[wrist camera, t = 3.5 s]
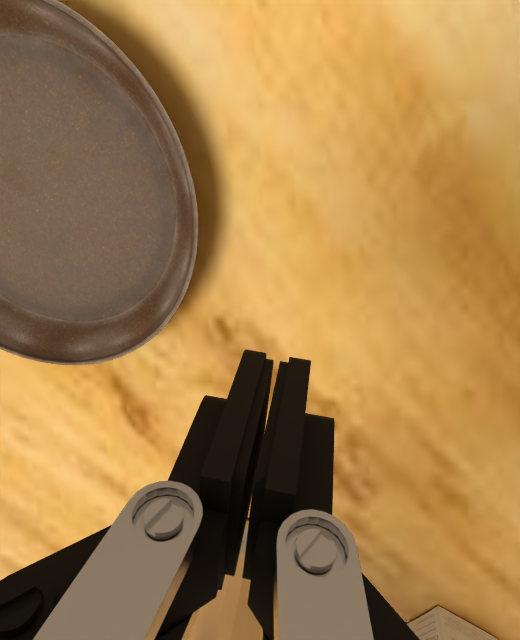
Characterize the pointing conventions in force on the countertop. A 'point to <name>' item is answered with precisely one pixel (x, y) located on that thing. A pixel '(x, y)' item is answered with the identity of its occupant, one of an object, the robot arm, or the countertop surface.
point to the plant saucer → (85, 193)
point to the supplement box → (446, 627)
